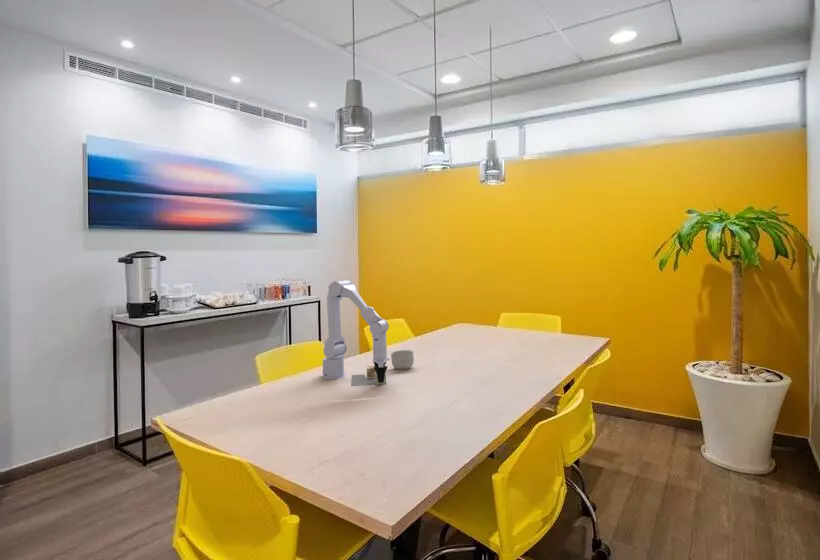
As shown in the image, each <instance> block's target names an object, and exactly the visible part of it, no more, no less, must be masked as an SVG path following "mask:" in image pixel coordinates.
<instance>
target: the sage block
mask: <svg viewBox="0 0 820 560" xmlns="http://www.w3.org/2000/svg"><path fill="white" fill-rule="evenodd" d="M386 382H387V371H386V372H385V377H384V382H383V383H379V382H378V378H377V373H376V372H375V384H383V385H387V384H386Z"/></svg>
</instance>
